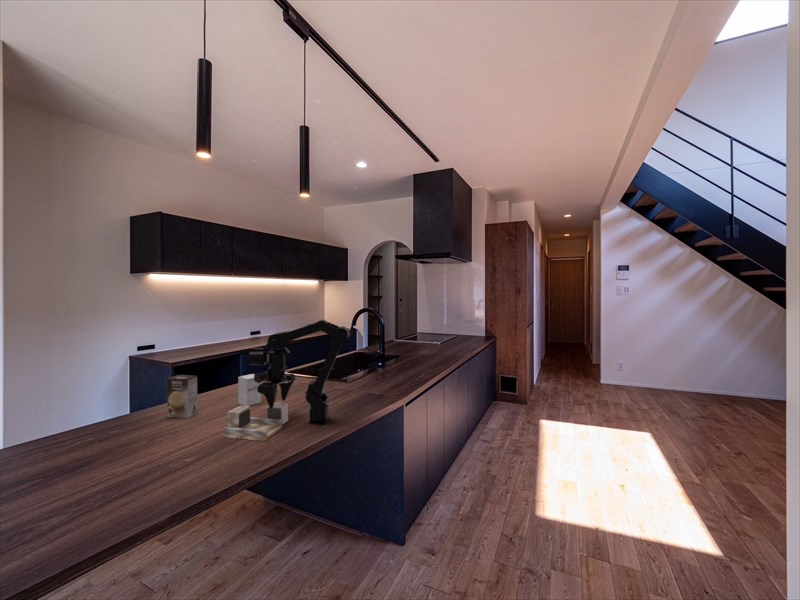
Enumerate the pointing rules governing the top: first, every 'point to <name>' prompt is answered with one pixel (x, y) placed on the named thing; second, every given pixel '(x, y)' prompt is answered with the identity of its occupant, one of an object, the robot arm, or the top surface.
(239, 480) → the top surface
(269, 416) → the block
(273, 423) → the beige clamp block
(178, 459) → the top surface
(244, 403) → the supplement box
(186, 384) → the coffee box
